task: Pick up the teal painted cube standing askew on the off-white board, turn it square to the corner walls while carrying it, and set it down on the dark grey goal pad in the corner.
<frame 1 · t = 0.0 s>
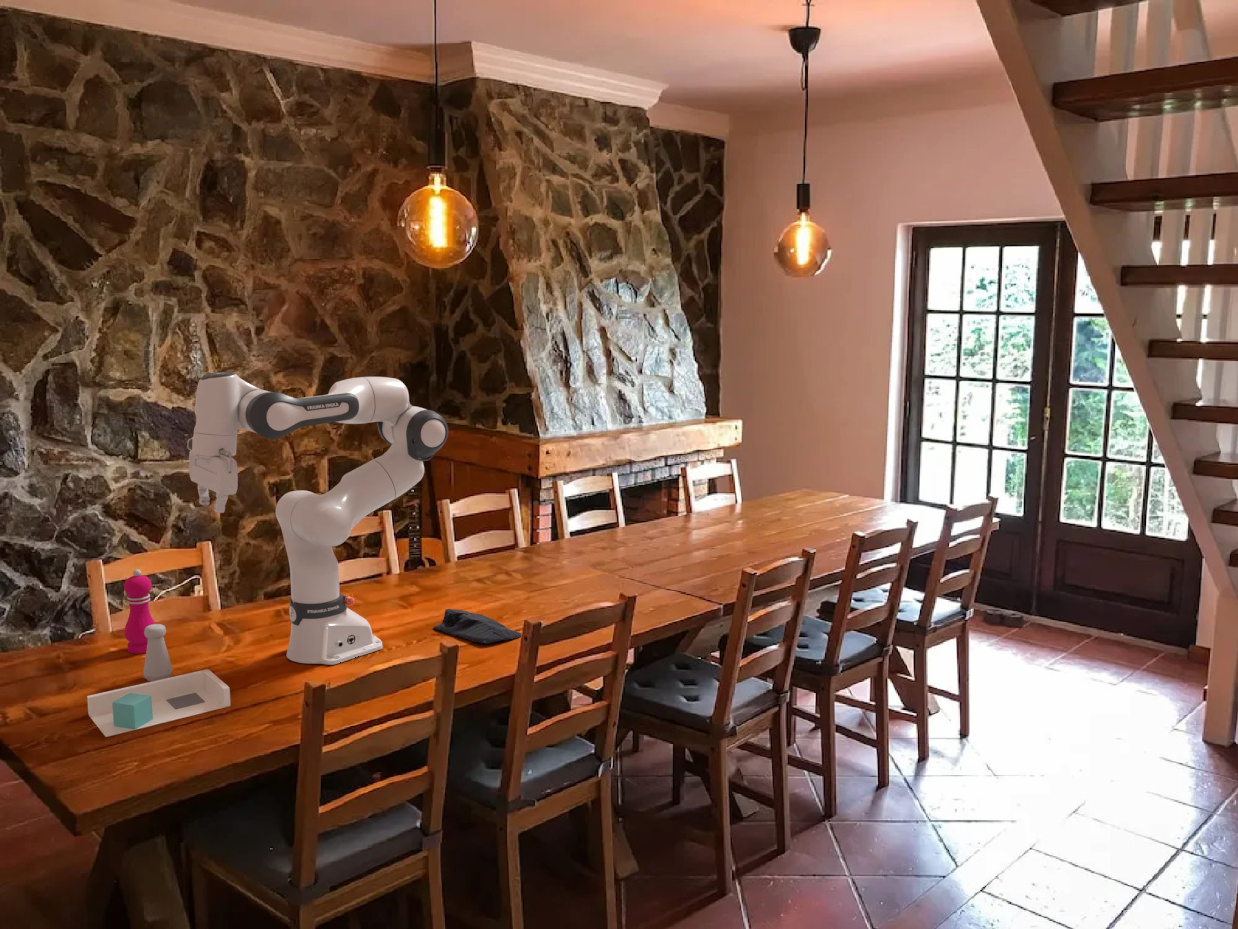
hand: (211, 508, 224), 39 cm above the table, tool pointing down, fingers open, 8 cm apart
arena: (160, 714, 210), on the table
cube: (133, 722, 204), point 1 cm above the table, touching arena
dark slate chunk: (478, 634, 263), on the table
salt shaker: (158, 682, 227), on the table
pepper mill: (142, 650, 246), on the table
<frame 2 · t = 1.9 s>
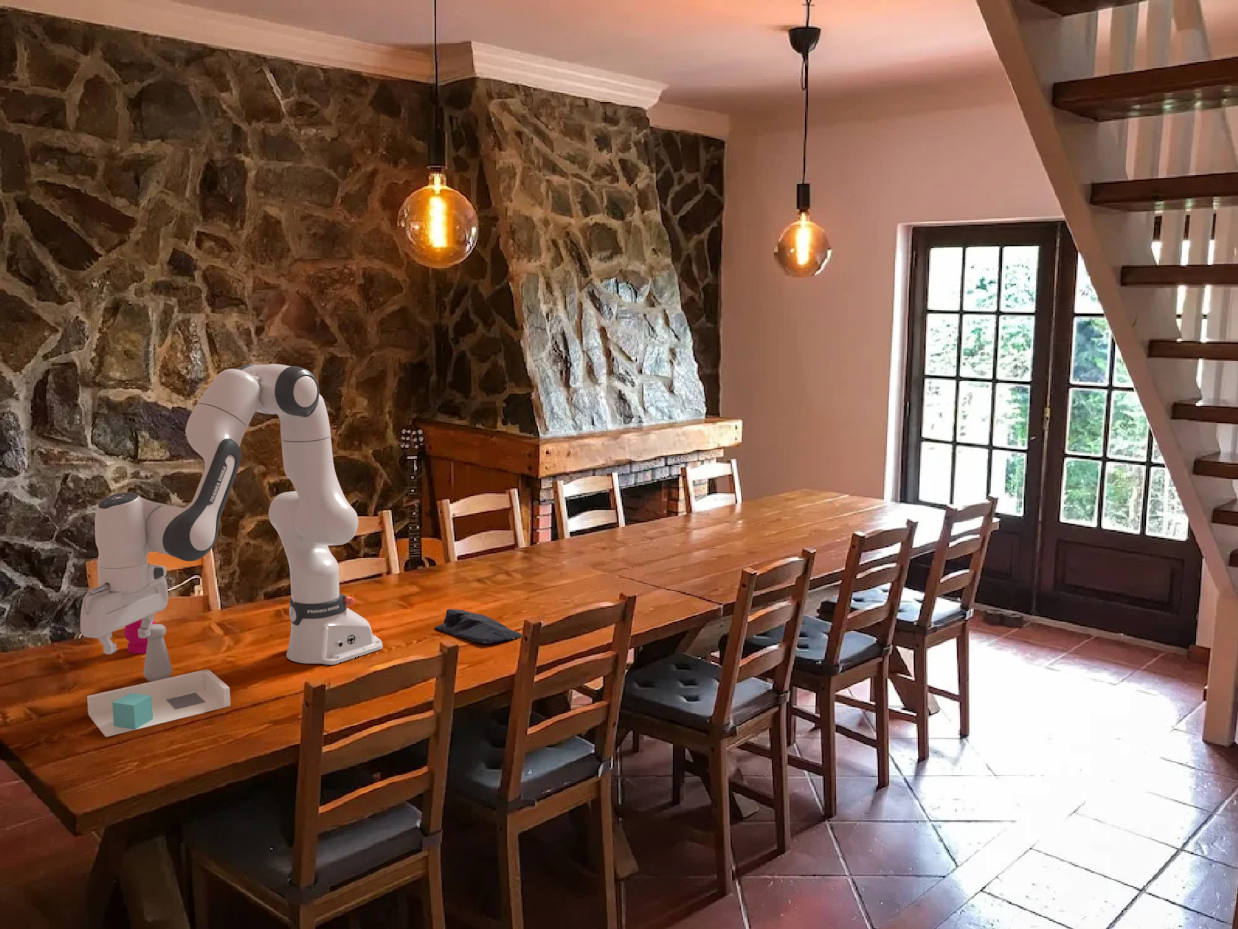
hand: (127, 644, 201), 17 cm above the table, tool pointing down, fingers open, 8 cm apart
nothing on the table moved.
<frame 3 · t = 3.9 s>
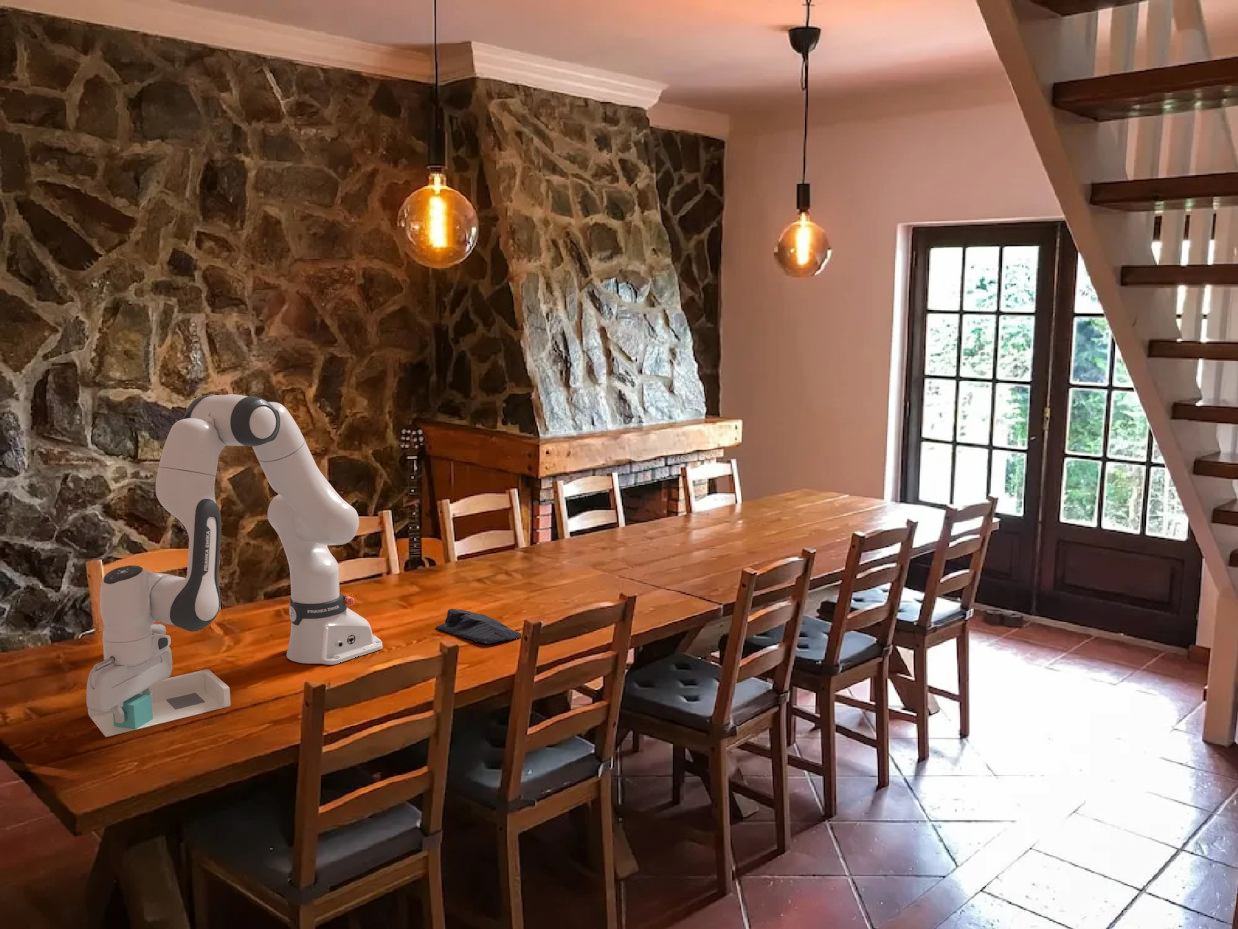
hand: (133, 715, 204), 3 cm above the table, tool pointing down, fingers closed on cube, 5 cm apart
cube: (133, 722, 204), point 1 cm above the table, touching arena, gripper
everything else where it was.
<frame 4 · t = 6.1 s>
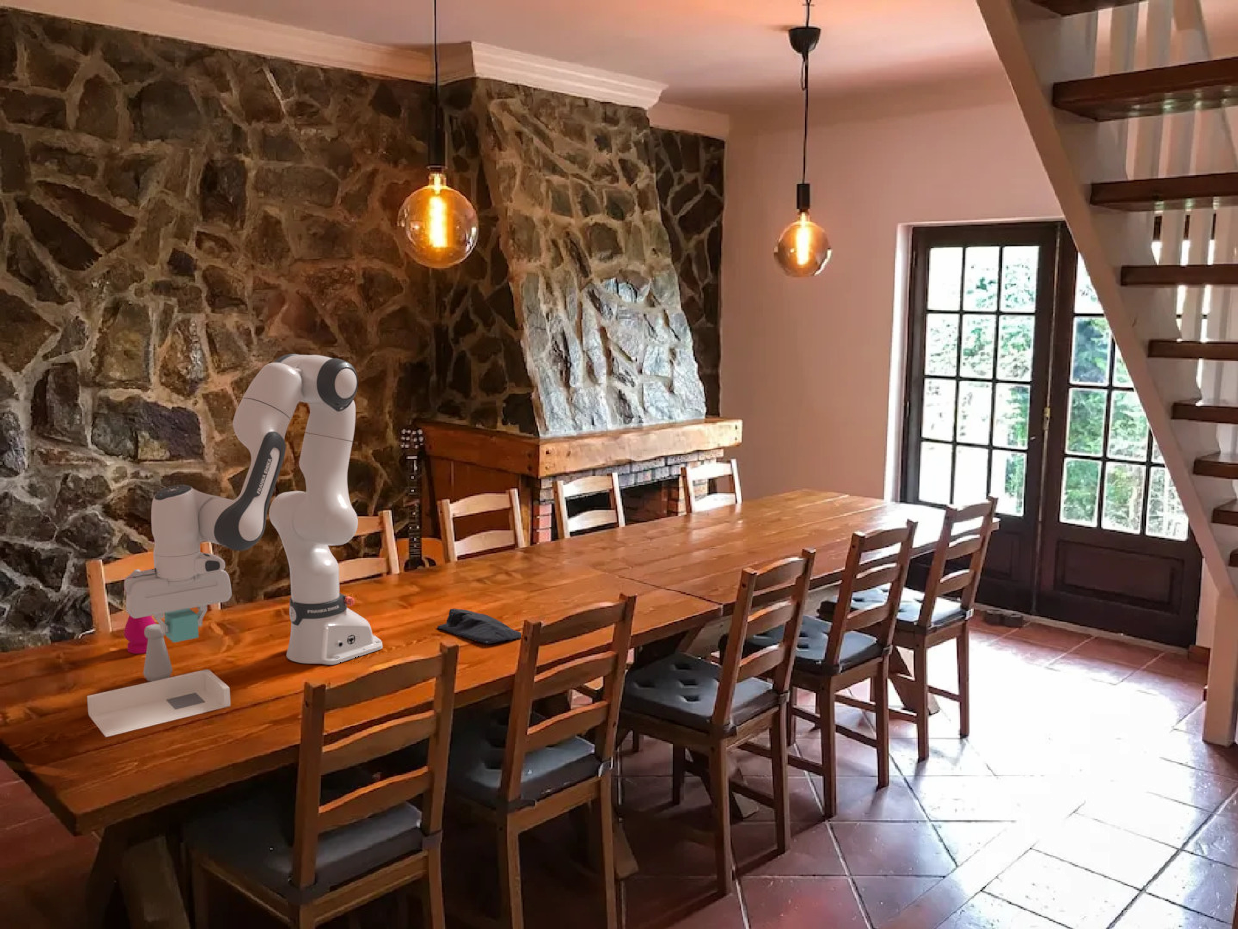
hand: (181, 629, 212), 17 cm above the table, tool pointing down, fingers closed on cube, 5 cm apart
cube: (182, 636, 212), point 15 cm above the table, touching gripper
everything else where it was.
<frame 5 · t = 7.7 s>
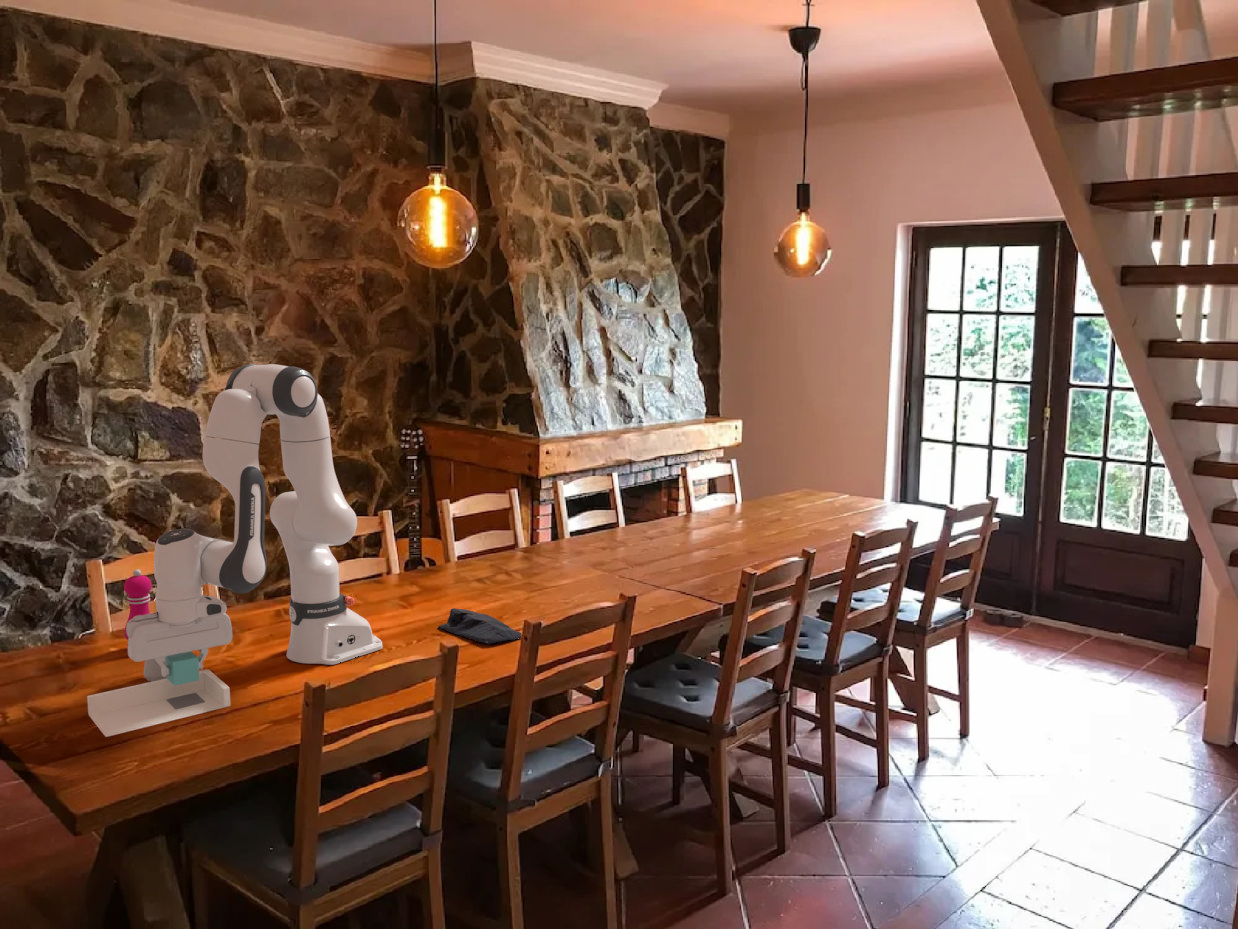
hand: (182, 672, 213), 8 cm above the table, tool pointing down, fingers closed on cube, 5 cm apart
cube: (182, 679, 214), point 6 cm above the table, touching gripper
when the fingers open (4 cm above the table, at t = 8.8 s): cube drops 2 cm, resting on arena.
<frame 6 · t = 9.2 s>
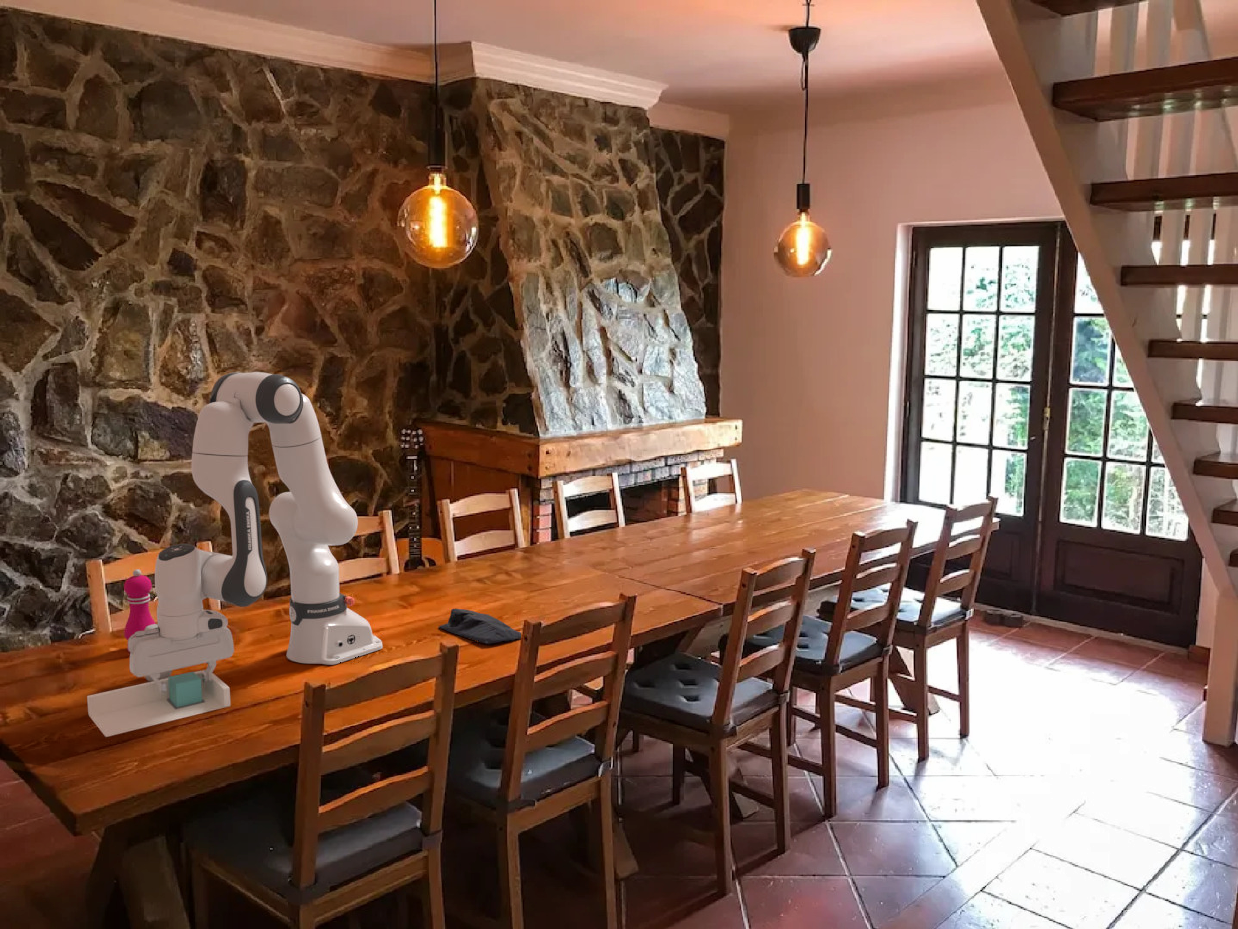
hand: (184, 686, 214), 4 cm above the table, tool pointing down, fingers open, 8 cm apart
cube: (185, 700, 215), point 1 cm above the table, touching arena
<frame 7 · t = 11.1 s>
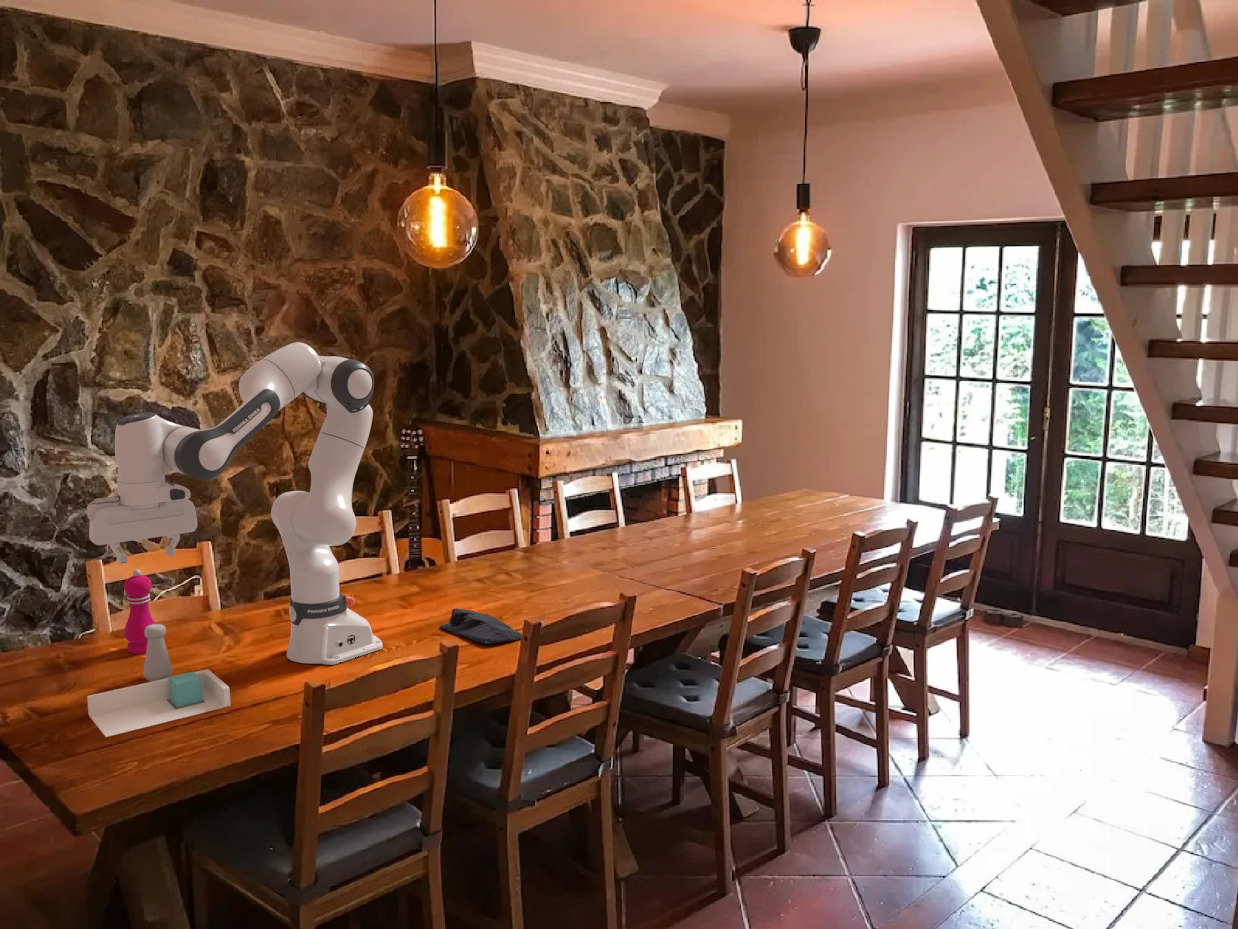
hand: (146, 559, 210), 32 cm above the table, tool pointing down, fingers open, 8 cm apart
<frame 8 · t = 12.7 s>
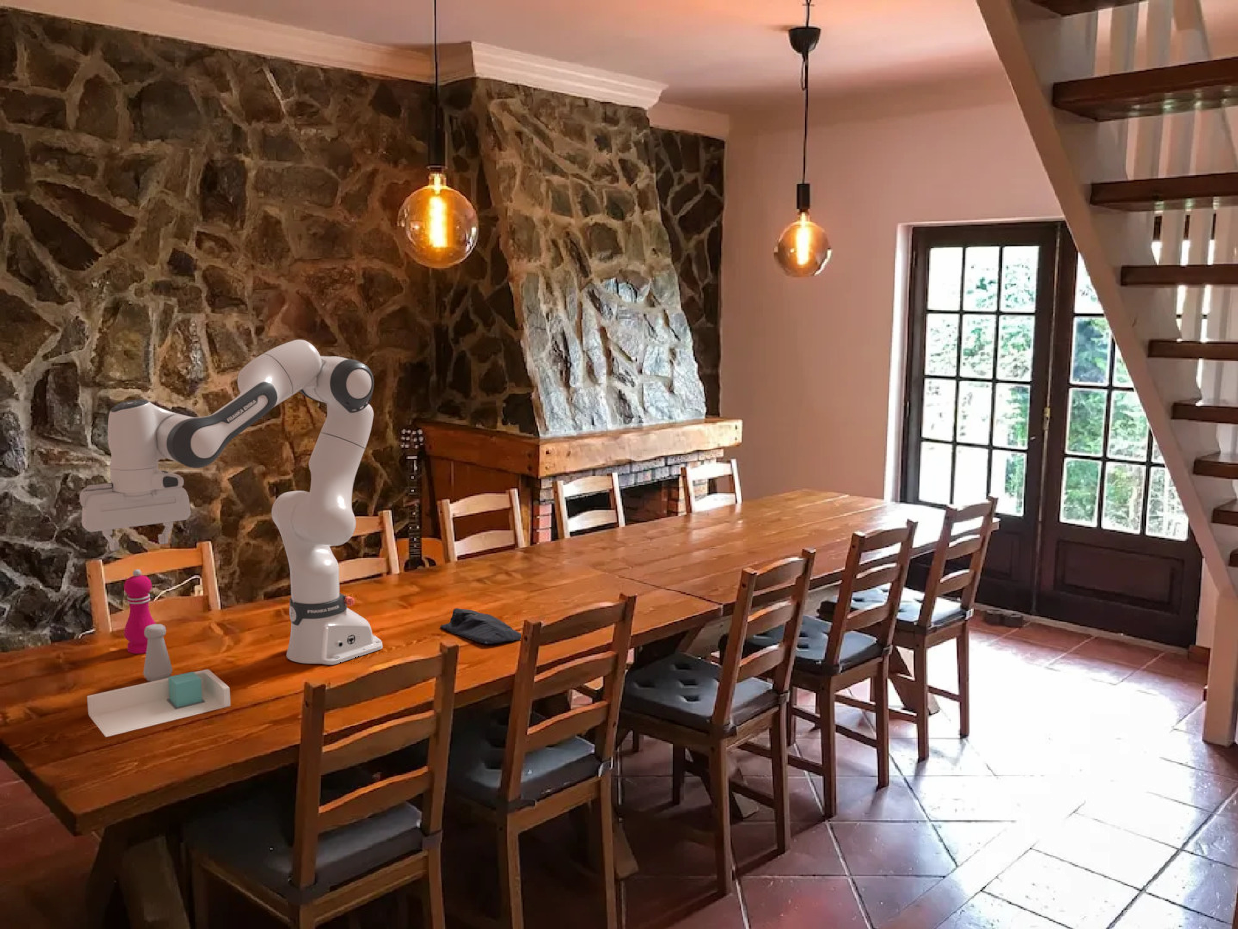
hand: (139, 546, 210), 34 cm above the table, tool pointing down, fingers open, 8 cm apart
at the end: cube 0.1 cm from the target spot, point 1.1 cm above the table; cube tilted 0°; the gripper is holding nothing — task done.
